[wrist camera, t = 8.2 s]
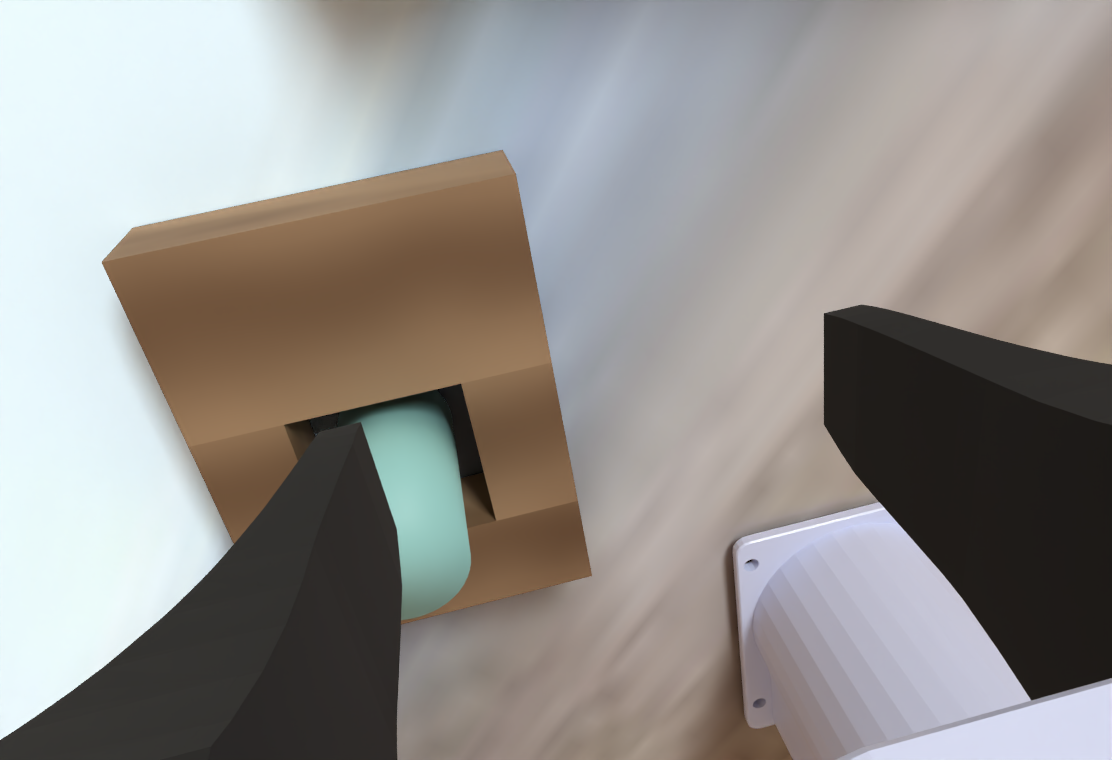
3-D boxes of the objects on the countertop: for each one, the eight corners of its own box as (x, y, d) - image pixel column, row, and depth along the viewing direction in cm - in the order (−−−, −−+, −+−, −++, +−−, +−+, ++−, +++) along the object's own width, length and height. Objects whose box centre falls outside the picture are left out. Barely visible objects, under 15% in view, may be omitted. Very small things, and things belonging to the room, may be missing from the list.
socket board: (575, 525, 26) (591, 575, 24) (294, 595, 25) (285, 653, 23) (502, 149, 20) (515, 173, 18) (132, 227, 19) (101, 262, 17)
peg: (463, 458, 24) (483, 600, 19) (355, 483, 24) (345, 635, 19) (438, 364, 22) (454, 491, 17) (323, 390, 22) (302, 526, 17)
